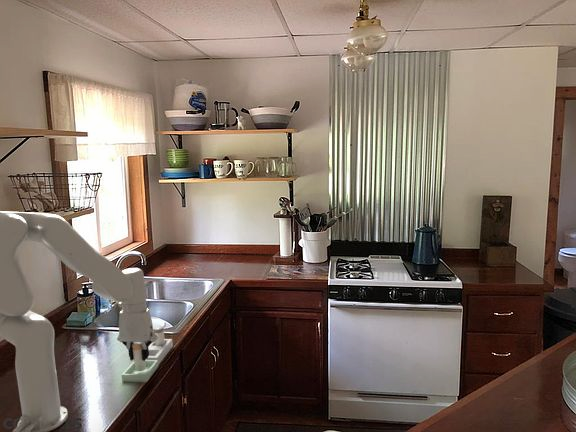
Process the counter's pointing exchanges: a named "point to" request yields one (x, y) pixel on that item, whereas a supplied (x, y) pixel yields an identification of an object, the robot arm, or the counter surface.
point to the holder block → (159, 350)
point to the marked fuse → (138, 356)
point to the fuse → (159, 335)
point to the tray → (140, 372)
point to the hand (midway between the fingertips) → (139, 358)
